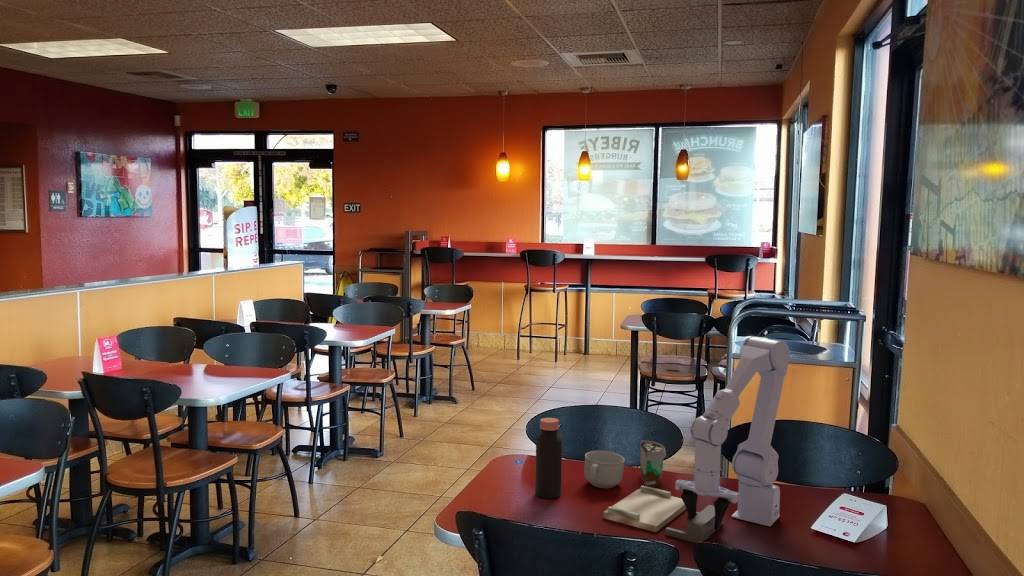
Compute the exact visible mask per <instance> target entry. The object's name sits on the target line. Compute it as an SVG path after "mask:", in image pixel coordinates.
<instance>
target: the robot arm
mask: <svg viewBox="0 0 1024 576" xmlns="http://www.w3.org/2000/svg"><path fill="white" fill-rule="evenodd" d="M791 353H792V352H791V350H790V348H789V346H788V344H787V342H786V341H784V340H776V339H775V340H773V339H769V338H763V337H757V336H755V335H749V336H747V337H746V338H745V339H744V341H743V342H742V345H741V346H740V348H739V358H740V359H739V361H738V362H737V365H736V367H735V369H734V371H733V373H732V375H731V377H730V379H729V380H728V382H727V384H726V386H725V388H723V389H720V390H718V391H717V392H716V393H715V395H714V397H713V398H712V400H711V401H710V403H709V405H708V406H707V408H706V410H705V411H704V413H703V414H702V415H700V416H698V417H696V418H695V419H694V420H693V421H692V423H691V428H689V432H690V436H691V438H692V441H693V443H692V444H693V446H694V471H693V472H694V474H693V481H692V480H691V481H690V480H683V479H678V480H676V481H675V483H674V484H675V485H674V487H675V490H676V491H680V490H681V491H682V493H681V494H680V498H682V500H683V502H684V504H685V507H686V512H687V515H688V517H687V518H688V522H689V521H690V520H691V519H692V518H694V517H695V516H696V512H697V505H698V497H699V496H704V497H705V496H706V497H711V498H715V499H716V500H715V501H714V502H713V506H714V508H715V525H714V527H715V530H716V531H718V530H721V528H722V525H721V523H722V520H723V521H724V516H725V514H726V512H727V510H728V508H729V506H730V504H731V503H732V504H737V510H736V511H734V513H733V514H731V518H734V519H738V520H742V521H745V522H750V523H754V524H758V525H762V526H765V527H766V526H767V527H771V526H772V525H773V524H774V523H775V522H776V521H777V520H778V519H779V518H780V515H781V514H780V506H781V503H780V501H781V489H780V486H778V485H775V484H773V483H774V482H775V481H776V480H777V477H778V475H779V463H778V462H779V457H780V456H779V454H778V452H777V451H776V450H775V449H774V448H773V446H772V444H771V442H772V439H773V434H774V430H775V424H776V419H777V415H778V410H779V404H780V400H781V395H782V392H783V386H784V381H785V376H786V375H787V373H788V369H789V363H790V358H791ZM756 373H758V375H759V376H760V378H759V379H760V380H759V385H758V389H757V395H756V399H755V403H754V409H753V413H752V419H751V422H750V423H751V424H750V428H749V433H748V438H747V439H746V440H745V441H743V442H741V443H739V444H738V445H737V450H736V452H735V454H734V455H733V458H732V461H731V469H732V471H733V472H734V473H733V474H735V476H736V478H735V479H738V492H737V491H733V490H730V489H728V488H725V487H723V486H720V478H721V477H720V476H721V458H722V457H721V456H722V444H723V443H724V442H725V441H726V440H727V437H728V434H729V433H728V432H729V428H730V421H731V420H732V417H733V416H734V415H735V414H736V412H737V410H738V408H739V406H740V402H741V401H740V398H739V397H740V395H741V393H742V392H743V391H744V390H745V388H746V387H747V386H748V384H749V383H750V382H751V380H752V379H753V378H754V376H755V375H756Z"/></svg>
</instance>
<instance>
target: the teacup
mask: <svg viewBox="0 0 1024 576" xmlns="http://www.w3.org/2000/svg"><path fill="white" fill-rule="evenodd" d="M625 462H626V460H625V457H624V456H622V455H620V454H619V453H615V452H612V451H607V450H591V451H588V452H586V453H585V455H584V477H585V479H586V480H587V481H588V482H589V484H591V486H594V487H596V488H598V489H611V488H612V489H613V488H614V487H616V486H617V485H618V484H620V483H621V481H622V479H623V475H624V469H625V467H624V466H625Z"/></svg>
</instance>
